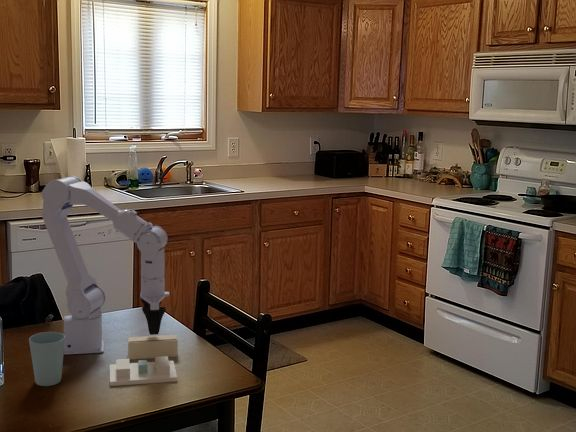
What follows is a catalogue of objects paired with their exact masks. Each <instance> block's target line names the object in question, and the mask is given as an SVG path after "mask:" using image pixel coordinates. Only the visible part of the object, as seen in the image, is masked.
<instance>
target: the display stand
mask: <svg viewBox="0 0 576 432" xmlns="http://www.w3.org/2000/svg"><path fill="white" fill-rule="evenodd" d="M173 382H175V383H176V382H178V374H177V371H176V366H175V362H174V360H169V357H168V356H164V357H155V358H154V361H148V360H147V359H142V360H141V359H138V360H137V362H131V363H130V359H129V358H122V359H121V358H120V359H119V358H118V359H116V360H115V363H113V364H109V386H110V387H114V386H127V385H129V386H130V385H142V384H143V385H144V384H146V385H147V384H157V383H158V384H159V383H173Z"/></svg>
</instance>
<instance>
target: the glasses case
mask: <svg viewBox="0 0 576 432" xmlns="http://www.w3.org/2000/svg"><path fill="white" fill-rule="evenodd" d="M177 336H178V335H177V334H168V335H167V334H166V335H163V334H162V335H148V336H129V337H127V354H128V355H127V356H128V357H127V359H129V360H141V359H142V360H146V359H155V357H164V356H168V358H173V357H174V358H175V357H178V353H179V352H178V343H179V341H178V337H177Z"/></svg>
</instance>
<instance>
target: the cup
mask: <svg viewBox="0 0 576 432" xmlns="http://www.w3.org/2000/svg"><path fill="white" fill-rule="evenodd" d="M28 343H29V348H30V356H31V361H32V370H33V376H34V383H35V384H36V385H37V386H41V387H51V386H54V385H57V384H60V382H62V381H61V380H62V375H63V374H62V373H63V362H64V355H65V354H64V344H65V335H64V333H63V332H58V331H44V332H43V331H42V332H38V333H35V334H33V335H31V336H30V337H29V338H28Z"/></svg>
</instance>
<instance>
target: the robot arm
mask: <svg viewBox="0 0 576 432" xmlns="http://www.w3.org/2000/svg"><path fill="white" fill-rule="evenodd" d="M40 194H41V195H40V196H41V197H42V200H43V201H42V211H41V213H42V214H41V216H42V220H43V223H44V225H45V229H46V231H47V233H48V236H49V238H50V241H51V244H52V245H53V248H54V251H55V253H56V256H57V259H58V261H59V264H60V266H61V268H62V271H63V274H64V276H65V280H66V281H67V284H66V289H65V297H66V300H67V302H66V308H67V311H68V313H69V315H64V316H63V334H64V335H65V344H64V355H82V354H99V353H104V349H105V347H104V345H105V344H104V343H105V340H104V339H103V326H102V324H103V323H102V321H103V319H102V318H103V314H102V306H103V305H104V304H105V302H106V292H105V291H104V290H103V288H102V287H101V286H100V285H99V284H98V282H97V279H96V278H95V277H93V276H91V275H90V274H89V271H88V269H87V267H86V263H85V261H84V258H83V256H82V253H81V251H80V248H79V246H78V243H77V240H76V238H75V235H74V232H73V229H72V227H71V225H70V222H69V219H68V215H69V213H70V211H72V207H73V206H74V205H75V206H76V205H79V206H80V205H84V206H87V207H88V208H90V209H92V210H93V211H94V212H96V213H97V214H98V213H99V215H101V216H102V217H105V218H106V219H108V220H109V221H110V222H112V224H113V228H114V230H116V231H118V232H119V233H121V234H122V235H123V236H125V237H127V238H128V239H129V240H131V241H132V242H134V243H135V244H136V246H137V249H138V250H139V252H140V294H139V295H140V296H139V297H140V300H141V303H142V304H143V306H141V310H142V312H143V314H144V316H145V319H146V323H147V329H148V333H149V336H157V335H159V333H160V329H161V325H162V319H163V317H164V315H165V313H166V310H167V307H166V306H161V304H162V301H163V299H164V298H166V297H170V291H165V287H166V286H165V284H166V283H165V282H166V281H165V273H166V272H165V270H166V269H165V267H166V266H165V263H166V262H165V260H166V259H165V246H166V245H167V243H168V239H169V238H168V233H167V232H166V231H165V230H164V229H163V227H162V226H160V225H153V223H152V222H150V221H149V222H147V221H146V220H144V219H143V218H141V217H140V216H139V215H137V214H138V212H137V211H136V210H134V209H133V210H130V209H120V208H119V207H117V206H116V205H115V204H113V203H112V202H111V201H109V200H108V199H107V198H105V197H104V195H102V194H100V193H99V192H97V190H95V189H94V188H93V187H92V186H91V185H90V184H89V183H88V182H86V181H84V180H82V179H81V178H79V177H78V176H75V175H69V176H66V177H63V178H59V179H52V180H50V181H49V182H47V183H46V185H45V186H44V188H43V189H42V191H41V193H40Z"/></svg>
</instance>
